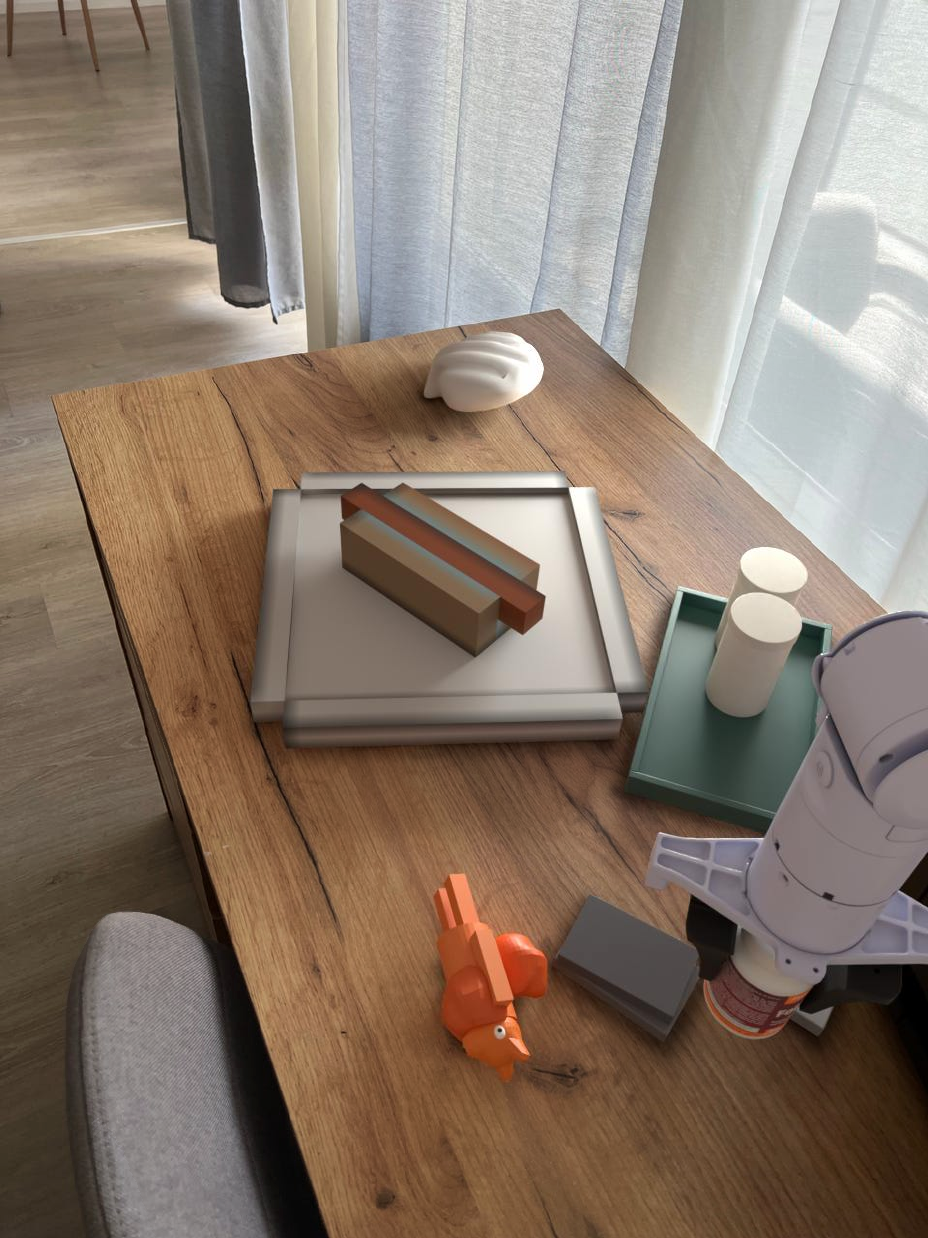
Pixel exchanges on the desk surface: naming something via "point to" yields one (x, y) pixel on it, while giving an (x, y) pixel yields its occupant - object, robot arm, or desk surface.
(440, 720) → the silver square tray
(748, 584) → the white cylinders
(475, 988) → the orange toy bird
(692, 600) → the tray
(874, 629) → the robot arm
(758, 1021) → the pill bottle
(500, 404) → the shell shaped sculpture
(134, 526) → the desk surface
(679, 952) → the grey books
